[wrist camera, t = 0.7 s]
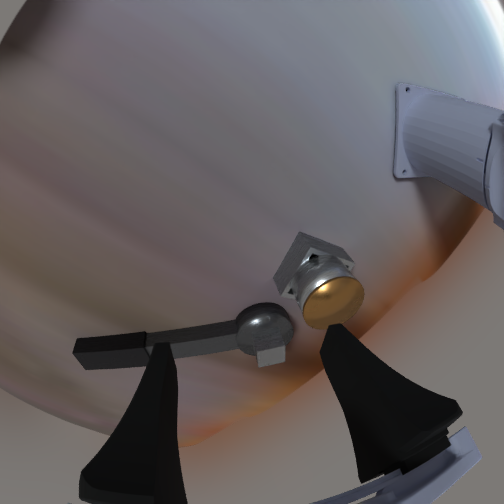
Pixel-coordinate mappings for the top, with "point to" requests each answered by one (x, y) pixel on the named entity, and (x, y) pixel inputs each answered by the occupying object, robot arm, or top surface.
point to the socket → (319, 281)
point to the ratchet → (195, 340)
